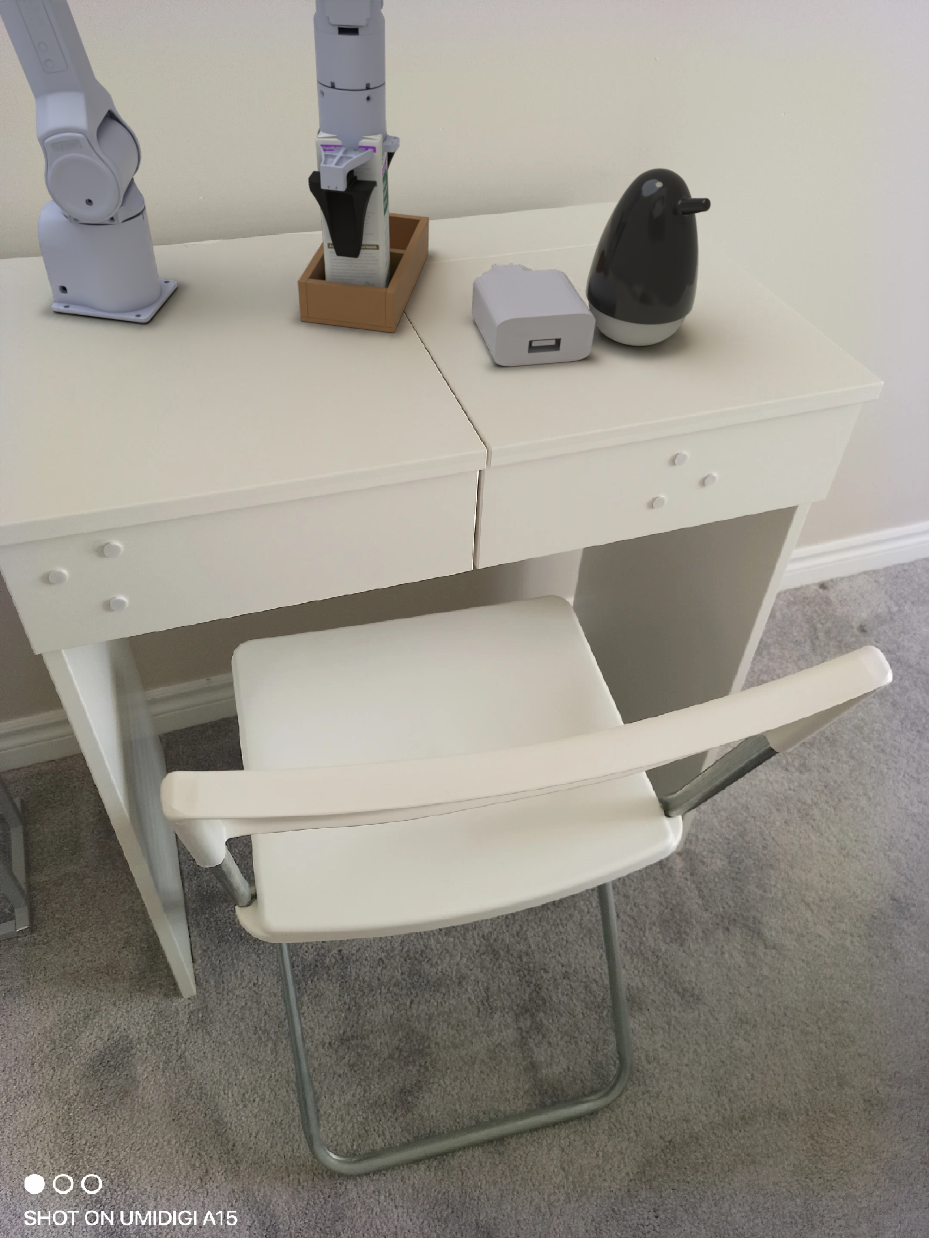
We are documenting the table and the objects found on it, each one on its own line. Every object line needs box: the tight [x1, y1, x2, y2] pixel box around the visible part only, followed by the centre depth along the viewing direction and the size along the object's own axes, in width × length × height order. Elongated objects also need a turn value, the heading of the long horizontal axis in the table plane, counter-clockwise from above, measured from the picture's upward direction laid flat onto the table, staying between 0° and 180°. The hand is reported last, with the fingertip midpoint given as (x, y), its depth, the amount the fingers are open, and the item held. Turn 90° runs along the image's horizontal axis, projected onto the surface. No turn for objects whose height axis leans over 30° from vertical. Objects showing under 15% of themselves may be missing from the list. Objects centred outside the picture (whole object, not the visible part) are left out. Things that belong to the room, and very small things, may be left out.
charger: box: [471, 262, 596, 367], centre depth 91 cm, size 5×9×15 cm
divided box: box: [297, 212, 430, 334], centre depth 95 cm, size 9×17×4 cm, turn 171°
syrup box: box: [314, 125, 390, 288], centre depth 87 cm, size 6×6×14 cm
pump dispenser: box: [585, 167, 712, 347], centre depth 87 cm, size 10×10×15 cm
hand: (356, 240), depth 89 cm, fingers closed on syrup box, 6 cm apart
